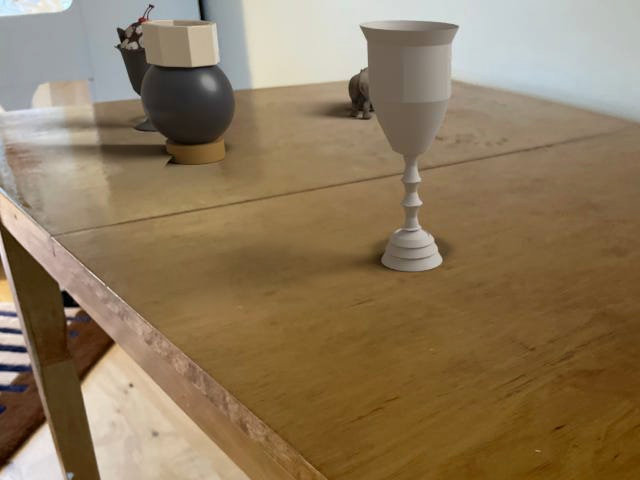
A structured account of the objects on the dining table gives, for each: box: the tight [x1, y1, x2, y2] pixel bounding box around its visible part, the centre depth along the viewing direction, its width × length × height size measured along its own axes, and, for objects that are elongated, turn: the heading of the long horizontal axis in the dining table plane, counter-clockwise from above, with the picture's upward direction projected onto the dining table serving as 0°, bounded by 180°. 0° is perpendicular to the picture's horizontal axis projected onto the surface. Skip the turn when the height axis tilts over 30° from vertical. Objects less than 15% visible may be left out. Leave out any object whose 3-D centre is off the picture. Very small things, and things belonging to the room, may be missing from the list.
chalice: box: [358, 19, 460, 272], centre depth 60 cm, size 7×7×18 cm
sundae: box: [113, 3, 158, 132], centre depth 100 cm, size 7×7×15 cm
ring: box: [141, 18, 221, 67], centre depth 85 cm, size 7×7×4 cm
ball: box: [140, 64, 236, 165], centre depth 88 cm, size 10×10×12 cm
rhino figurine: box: [347, 66, 374, 119], centre depth 117 cm, size 4×14×6 cm, turn 179°
